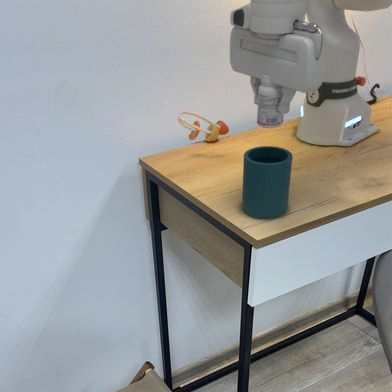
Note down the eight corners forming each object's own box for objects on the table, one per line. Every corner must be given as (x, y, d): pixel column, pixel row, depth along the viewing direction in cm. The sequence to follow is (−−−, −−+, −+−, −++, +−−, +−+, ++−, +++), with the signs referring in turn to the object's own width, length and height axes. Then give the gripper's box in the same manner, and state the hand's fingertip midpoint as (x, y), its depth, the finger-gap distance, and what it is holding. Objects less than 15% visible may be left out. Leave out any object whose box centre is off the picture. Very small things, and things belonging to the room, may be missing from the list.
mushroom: (169, 136, 127) (213, 161, 136) (189, 117, 121) (233, 145, 130) (169, 114, 130) (212, 141, 139) (188, 94, 124) (231, 123, 133)
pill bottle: (265, 118, 93) (269, 68, 87) (287, 123, 90) (292, 71, 85) (251, 125, 90) (253, 74, 84) (273, 130, 88) (277, 78, 82)
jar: (266, 194, 106) (270, 142, 99) (296, 210, 100) (302, 156, 93) (233, 206, 102) (234, 153, 95) (261, 223, 97) (265, 168, 89)
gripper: (339, 22, 74) (325, 119, 83) (252, 7, 87) (249, 92, 96) (309, 28, 71) (298, 127, 81) (223, 11, 84) (223, 99, 93)
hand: (271, 108), depth 88 cm, fingers closed on pill bottle, 5 cm apart
